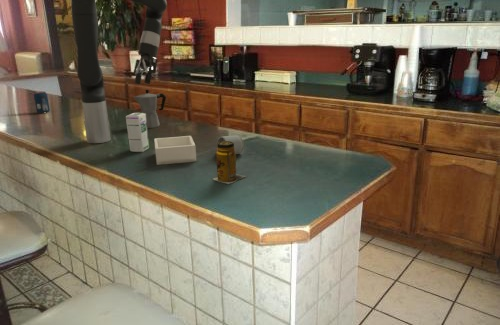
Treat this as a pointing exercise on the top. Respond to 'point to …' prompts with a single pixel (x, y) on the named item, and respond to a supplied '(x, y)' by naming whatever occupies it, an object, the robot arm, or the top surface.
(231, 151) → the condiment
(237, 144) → the ceramic mug
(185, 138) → the bin
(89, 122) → the robot arm
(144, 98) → the coffeepot
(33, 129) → the top surface
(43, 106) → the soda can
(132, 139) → the syrup box
